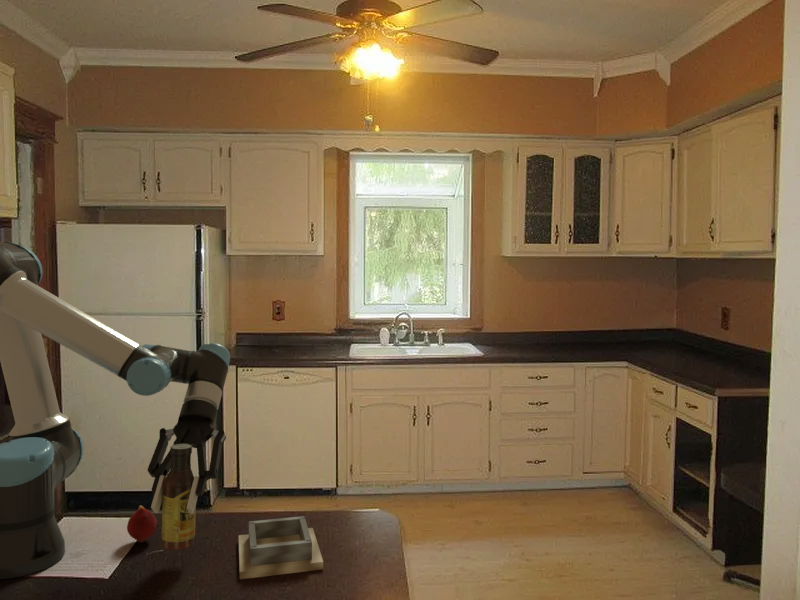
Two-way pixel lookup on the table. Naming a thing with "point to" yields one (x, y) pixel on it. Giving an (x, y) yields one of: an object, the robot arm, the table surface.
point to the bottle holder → (278, 548)
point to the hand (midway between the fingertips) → (172, 510)
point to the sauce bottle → (178, 501)
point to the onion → (141, 524)
